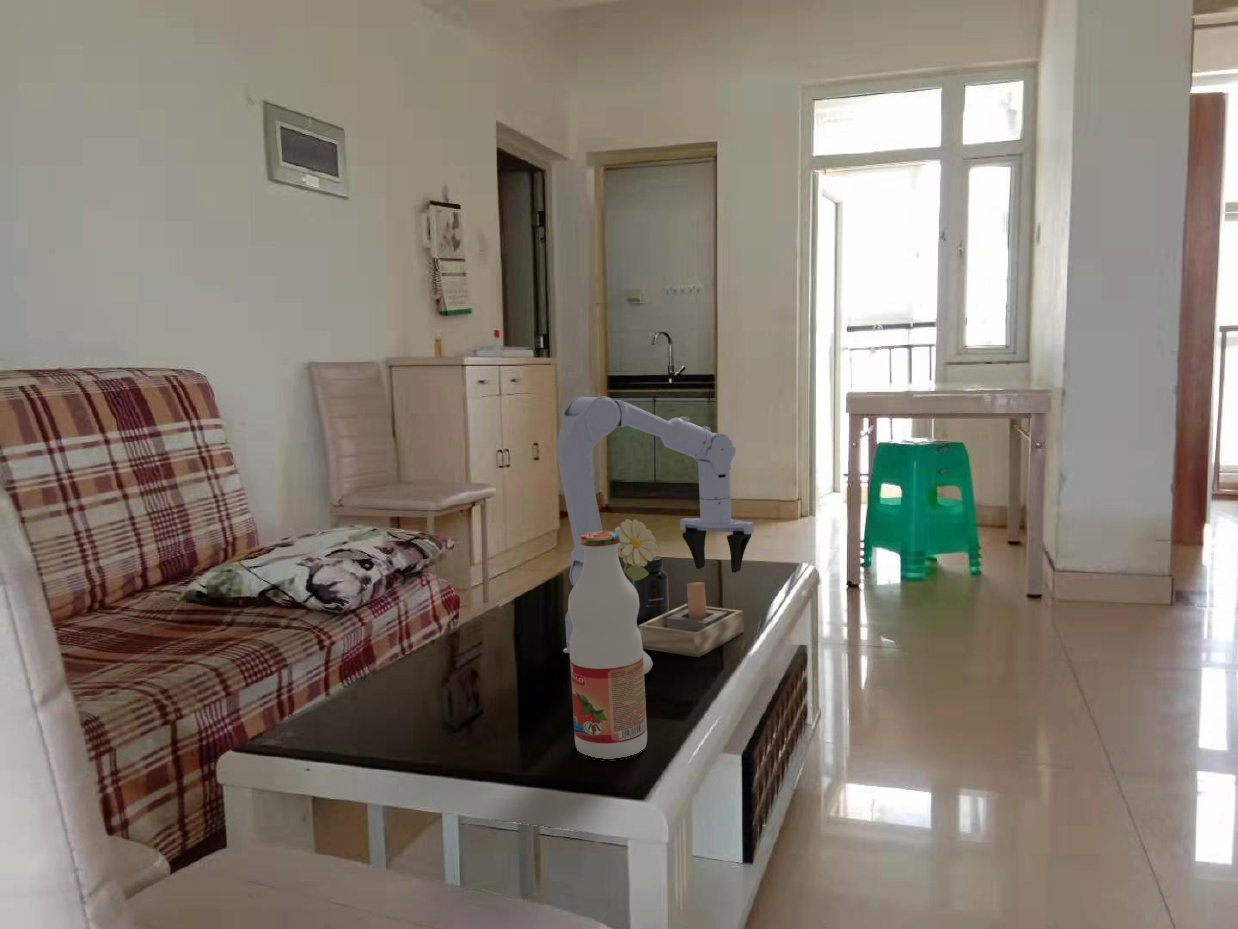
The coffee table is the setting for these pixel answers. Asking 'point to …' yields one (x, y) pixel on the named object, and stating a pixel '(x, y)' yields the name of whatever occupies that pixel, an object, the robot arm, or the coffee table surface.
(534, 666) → the coffee table surface
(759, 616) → the coffee table surface
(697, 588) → the peg
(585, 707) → the fruit juice
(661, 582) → the supplement bottle
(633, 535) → the flower in vase
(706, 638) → the box
